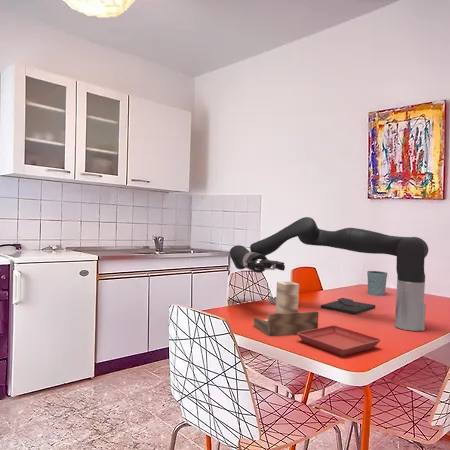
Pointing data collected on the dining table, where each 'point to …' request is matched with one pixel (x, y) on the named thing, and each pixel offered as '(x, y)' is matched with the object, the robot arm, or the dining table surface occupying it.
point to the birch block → (287, 297)
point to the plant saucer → (338, 340)
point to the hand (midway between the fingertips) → (273, 267)
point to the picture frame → (348, 306)
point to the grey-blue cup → (376, 282)
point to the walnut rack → (287, 323)
